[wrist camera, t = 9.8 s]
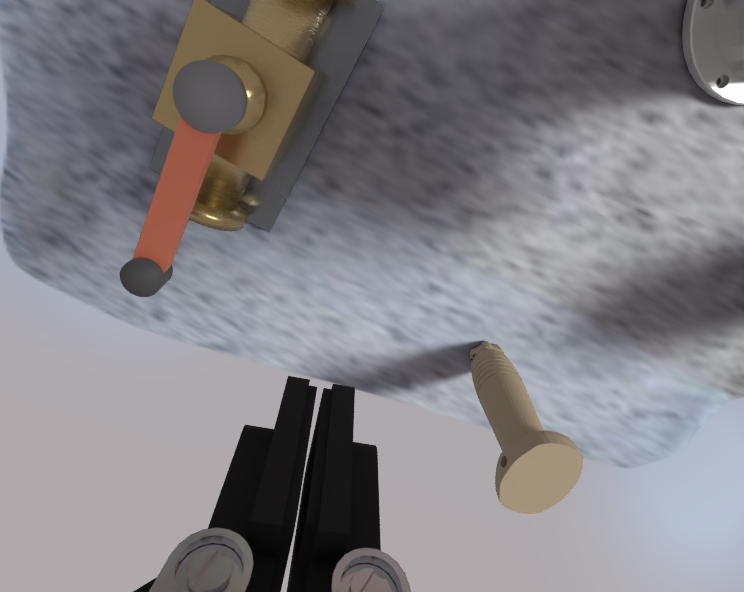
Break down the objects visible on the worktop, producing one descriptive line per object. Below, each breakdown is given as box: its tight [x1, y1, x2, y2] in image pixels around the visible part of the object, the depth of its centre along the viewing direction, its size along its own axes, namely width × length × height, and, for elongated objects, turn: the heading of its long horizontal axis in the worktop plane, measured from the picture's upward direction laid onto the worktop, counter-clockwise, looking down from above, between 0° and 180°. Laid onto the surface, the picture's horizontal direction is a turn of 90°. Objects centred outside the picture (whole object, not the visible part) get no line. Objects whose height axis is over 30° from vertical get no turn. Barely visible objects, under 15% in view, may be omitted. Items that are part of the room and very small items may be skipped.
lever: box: [120, 60, 247, 297], centre depth 23 cm, size 13×3×2 cm, turn 151°
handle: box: [470, 342, 583, 514], centre depth 36 cm, size 5×6×15 cm
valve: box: [149, 0, 384, 232], centre depth 28 cm, size 18×10×11 cm, turn 149°
